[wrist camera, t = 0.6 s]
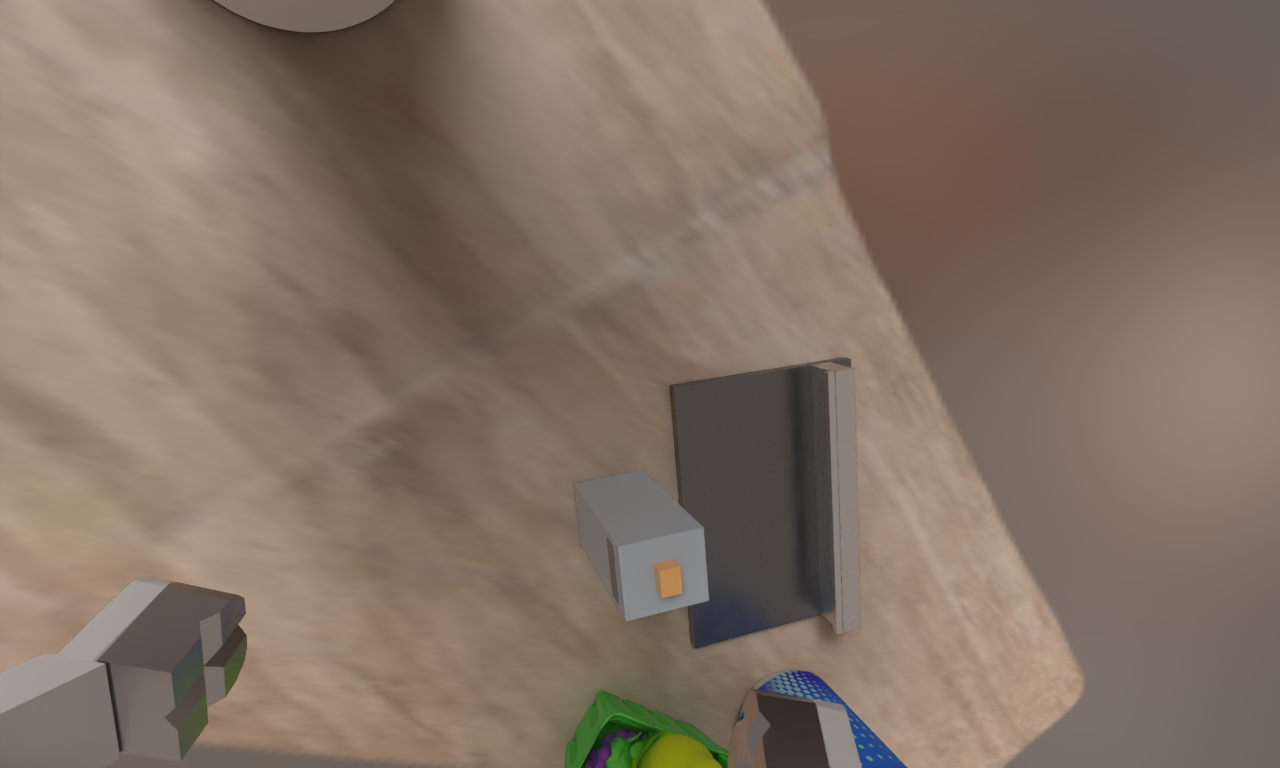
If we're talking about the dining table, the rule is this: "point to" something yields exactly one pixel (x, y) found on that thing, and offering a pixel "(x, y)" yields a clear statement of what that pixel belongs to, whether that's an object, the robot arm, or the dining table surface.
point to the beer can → (872, 752)
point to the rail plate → (772, 496)
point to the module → (641, 544)
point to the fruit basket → (638, 739)
